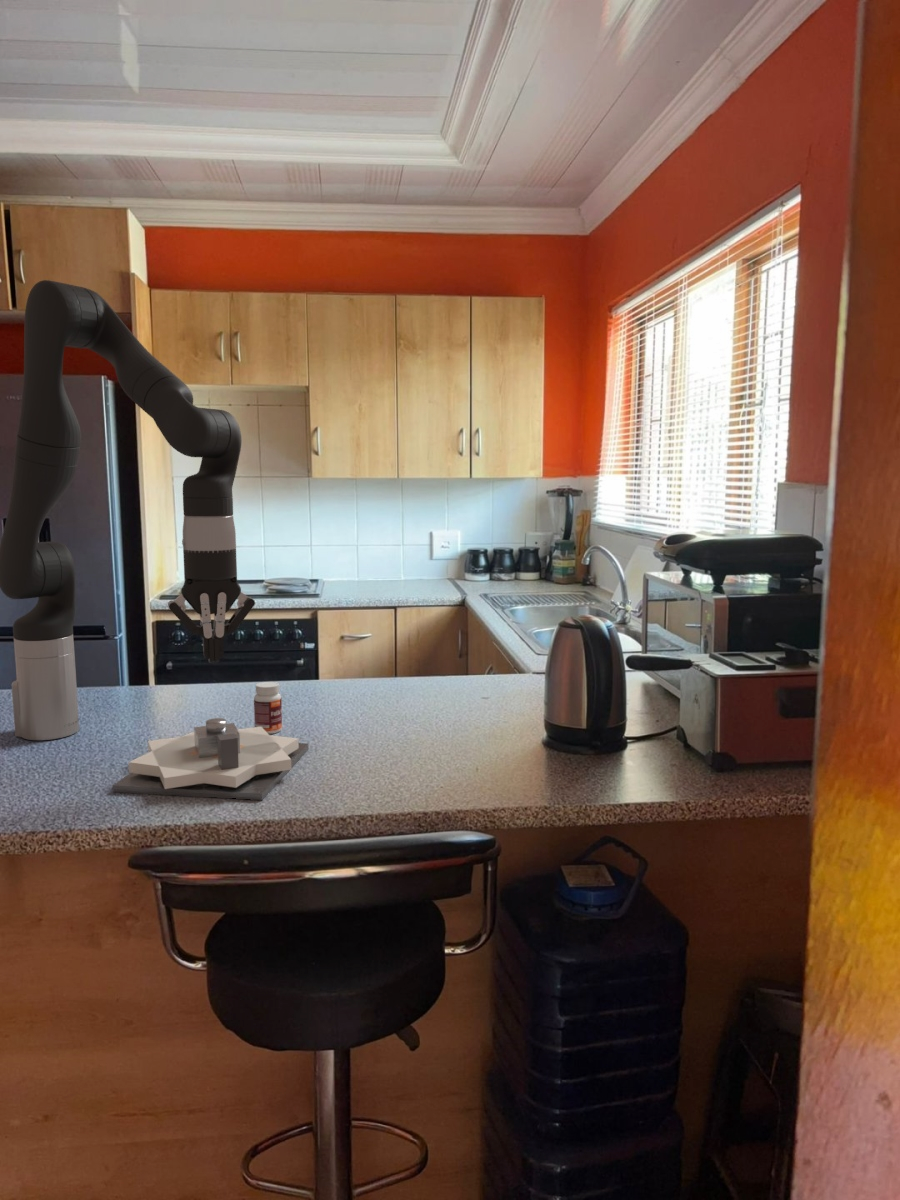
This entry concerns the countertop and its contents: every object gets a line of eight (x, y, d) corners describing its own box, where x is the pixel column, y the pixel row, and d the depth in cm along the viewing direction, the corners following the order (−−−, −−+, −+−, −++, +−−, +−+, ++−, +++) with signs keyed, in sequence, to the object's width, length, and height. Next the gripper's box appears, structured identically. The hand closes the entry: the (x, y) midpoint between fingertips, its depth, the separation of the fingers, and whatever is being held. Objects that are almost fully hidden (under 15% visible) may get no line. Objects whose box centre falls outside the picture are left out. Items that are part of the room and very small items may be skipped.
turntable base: (113, 792, 119) (112, 785, 118) (181, 743, 140) (181, 737, 140) (262, 800, 116) (261, 793, 116) (308, 749, 137) (308, 743, 137)
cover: (198, 758, 124) (197, 728, 123) (194, 745, 129) (193, 717, 129) (240, 753, 126) (239, 724, 125) (234, 741, 132) (233, 713, 131)
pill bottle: (275, 735, 145) (274, 688, 144) (250, 733, 146) (248, 686, 144) (286, 727, 149) (285, 681, 148) (261, 725, 150) (260, 680, 149)
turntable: (120, 747, 133) (118, 710, 133) (277, 726, 145) (276, 693, 144) (139, 803, 111) (137, 759, 110) (323, 773, 122) (322, 734, 121)
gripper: (164, 549, 117) (169, 670, 120) (259, 547, 122) (262, 662, 125) (160, 545, 124) (165, 659, 126) (250, 543, 129) (254, 653, 131)
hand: (214, 661), depth 125 cm, fingers closed
